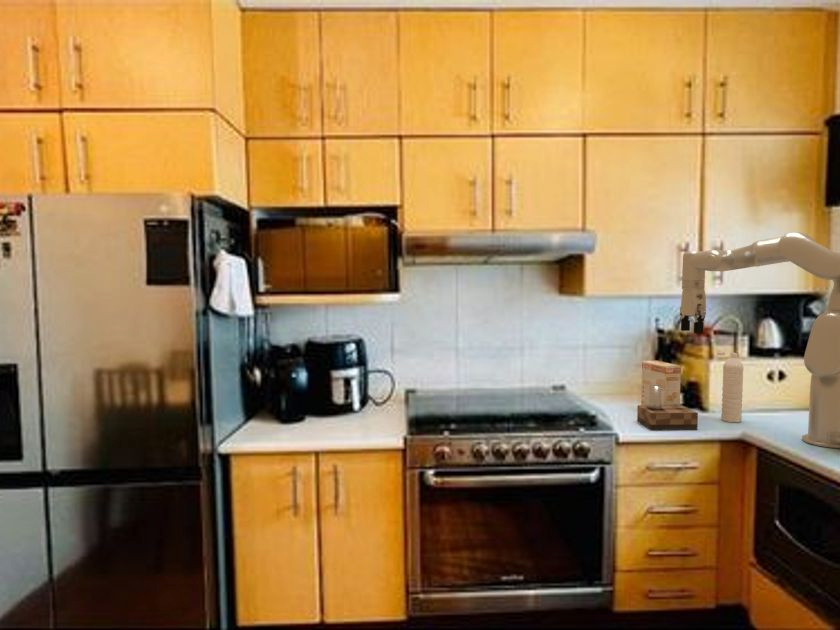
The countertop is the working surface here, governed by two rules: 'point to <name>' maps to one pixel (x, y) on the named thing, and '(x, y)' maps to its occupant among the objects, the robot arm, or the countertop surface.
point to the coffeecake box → (661, 381)
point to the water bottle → (732, 389)
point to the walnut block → (668, 418)
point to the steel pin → (655, 397)
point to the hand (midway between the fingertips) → (691, 331)
